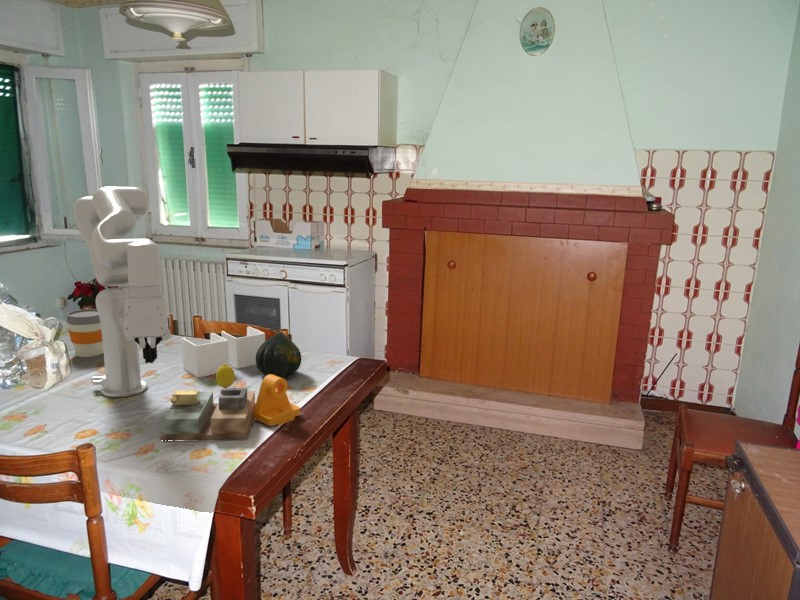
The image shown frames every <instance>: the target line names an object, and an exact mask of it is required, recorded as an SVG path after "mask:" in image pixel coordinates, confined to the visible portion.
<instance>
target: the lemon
mask: <svg viewBox="0 0 800 600" xmlns="http://www.w3.org/2000/svg"><path fill="white" fill-rule="evenodd" d="M235 377H236V376H235V371H234V369H233V367H232V366H231V365H229V366H228V365H226V364H224V365H223V366H221V367H219V369H218V370H217V373H216V374H215V380H216V383H217V385H218V386H219V387H221V388H222V389H223V388H231V386H232V385H233V384H234V382H235Z"/></svg>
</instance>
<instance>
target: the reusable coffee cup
mask: <svg viewBox="0 0 800 600" xmlns="http://www.w3.org/2000/svg"><path fill="white" fill-rule="evenodd" d="M66 323H67V324H68V335H69V337H70V341H71V343H72V344H73V348H74V354H75V356H76V357H79V358H91V357H97V355H98V356H100V354H101V355H103V354H104V352H103V341H102V331H101V324H100V319H99V315H98V311H97V308H85V309H77V310H73V311H72V310H71V311H70V312H68V313H66ZM102 353H103V354H102Z"/></svg>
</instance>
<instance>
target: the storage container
mask: <svg viewBox="0 0 800 600" xmlns="http://www.w3.org/2000/svg"><path fill="white" fill-rule="evenodd" d="M220 334H221V336H220V335H219V334H217V333H214V332H211V333H209V339H210V340H209V341H210V343H203V344H198V345H197V344H195V343H193V342H192V341H189V340H187V339H186V337H182V338H181V342H182V343H181V345H182V348H181V349H182V362H183V363H182V365H183V369H184V370H185V371H186V372H189V374H191V375H193V376H194V377H196V378H202V377H206V376H211V374H212V375H214V374H215V373H217V370H218V369H219V367H221V366H223V365H224V364H226V365H228V366H231V365H232V366H231V367H233V366H234V367H233V368H235V369H237V368H238V369H241V367H243V368H247V367H251V366H250V365H252V366H255V365H254V364H256V353H257V351H258V349H259V347H260V346H261V345H262V344H263V343H264V342H265V341H266V333H265V332H263V331H261V330H259V329H257V328H254V327H251V326H247V327H246V335H245V336H242V337H236V336H233V335H231V334H229V333H227V332H225V330H221V333H220ZM246 366H247V367H246ZM215 375H216V374H215Z"/></svg>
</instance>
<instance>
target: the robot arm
mask: <svg viewBox="0 0 800 600" xmlns="http://www.w3.org/2000/svg"><path fill="white" fill-rule="evenodd" d="M149 210H150V201H149V197H148V195H147V193H146V191H144V190H143V189H142V188H141V187H138V186H137V187H135V186H104V187H100V188H98V189H96V190H95V191H94V192H93V193H92V195H91V196H90V195H89V196H84V197H80V198H78V199H77V200H76V201H74V204H73V217H74V220H75V221H74V222H75V223H76V226H77V228H78V230H79V233H80V234H81V236H82V238H83V239H84V241H85V242H86V245H87V246H88V250H89V254H90V259H91V263H92V269H93V272H94V275H95V279H96V281H97V283H98V284H99V285H100V286H102V287H110V288H106V289H102V290H100V292H98V293H97V295H96V296H95V297H96V298H95V307H96V308H95V309H97V311H98V315H99V319H100V324H101V331H102V341H103V352H104V353H103V361H104V363H103V364H104V373H105V374H104V375H102V376H100V375H99V376H97V375H94V376H92V377H91V382H92V385H94V386H98V385H101V387H100V393H101V394H102V395H103V396H105V397H111V398H122V397H129V396H135V395H137V394H140V393H142V392H144V391H145V390H147V388H148V384H147V382H146V381H145V380H143V379H141V378H142V377H141V363H140V348H141V349H142V359H143V360H144V362H145V364H153V363H154V362H155V361H156V360H157V359H158V347H157V346H158V345H159V344H160V343H161V342H164V341H168V340H170V339H171V338H172V334H171V319H170V311H169V307H168V303H167V302H168V301H167V299H166V296H165V295H163V289H162V273H161V272H162V271H161V256H160V255H161V253H160V248H159V244H157V243H155V242H154V241H153V240H152V239H150V238H125V237H127V236H129V235H130V234H132V233H133V232H134V231H135V229H136V227H137V223H139V222H140V221H141V220H142V219H143V218H145V217H146V216H147V215H148V213H149ZM149 338H150V343H149Z"/></svg>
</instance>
